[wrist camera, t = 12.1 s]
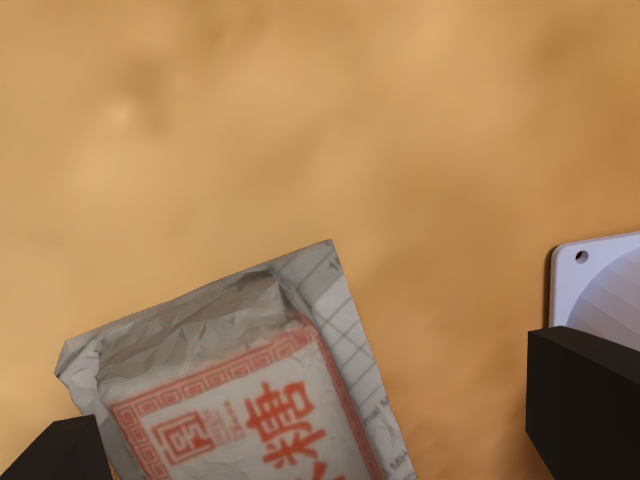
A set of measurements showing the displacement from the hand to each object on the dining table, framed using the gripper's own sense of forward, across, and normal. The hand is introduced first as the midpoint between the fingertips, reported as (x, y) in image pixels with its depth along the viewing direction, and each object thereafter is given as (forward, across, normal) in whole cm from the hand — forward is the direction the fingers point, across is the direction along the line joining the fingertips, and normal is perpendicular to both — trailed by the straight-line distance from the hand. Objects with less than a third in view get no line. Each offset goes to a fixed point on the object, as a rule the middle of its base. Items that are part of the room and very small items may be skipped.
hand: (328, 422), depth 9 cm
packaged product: (+11, +1, +10) cm, 15 cm away
